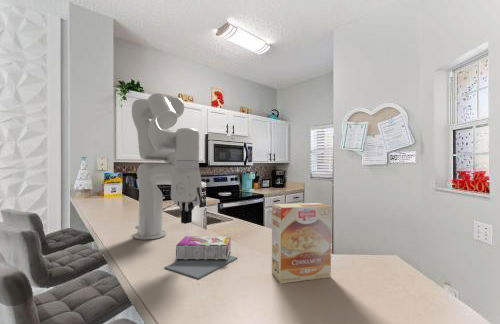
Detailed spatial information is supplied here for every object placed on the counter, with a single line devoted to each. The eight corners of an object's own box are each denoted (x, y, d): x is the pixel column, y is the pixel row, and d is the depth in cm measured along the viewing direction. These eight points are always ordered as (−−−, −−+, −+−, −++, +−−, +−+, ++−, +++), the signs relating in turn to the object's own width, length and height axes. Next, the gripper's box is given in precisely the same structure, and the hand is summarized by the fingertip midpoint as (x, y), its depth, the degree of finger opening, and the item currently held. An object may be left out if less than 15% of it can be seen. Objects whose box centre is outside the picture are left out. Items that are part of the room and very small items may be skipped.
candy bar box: (185, 235, 90) (230, 235, 89) (184, 249, 89) (230, 249, 89) (175, 244, 78) (227, 244, 78) (175, 260, 78) (227, 261, 78)
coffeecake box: (280, 284, 63) (280, 207, 64) (270, 273, 70) (271, 203, 71) (332, 277, 67) (332, 205, 68) (318, 267, 74) (318, 201, 75)
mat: (164, 268, 73) (164, 266, 73) (206, 251, 88) (206, 250, 88) (198, 279, 66) (198, 277, 66) (237, 258, 81) (237, 257, 81)
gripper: (162, 166, 83) (161, 222, 82) (195, 166, 75) (195, 228, 74) (179, 166, 89) (179, 218, 88) (212, 166, 81) (211, 223, 81)
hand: (186, 222), depth 81 cm, fingers closed
